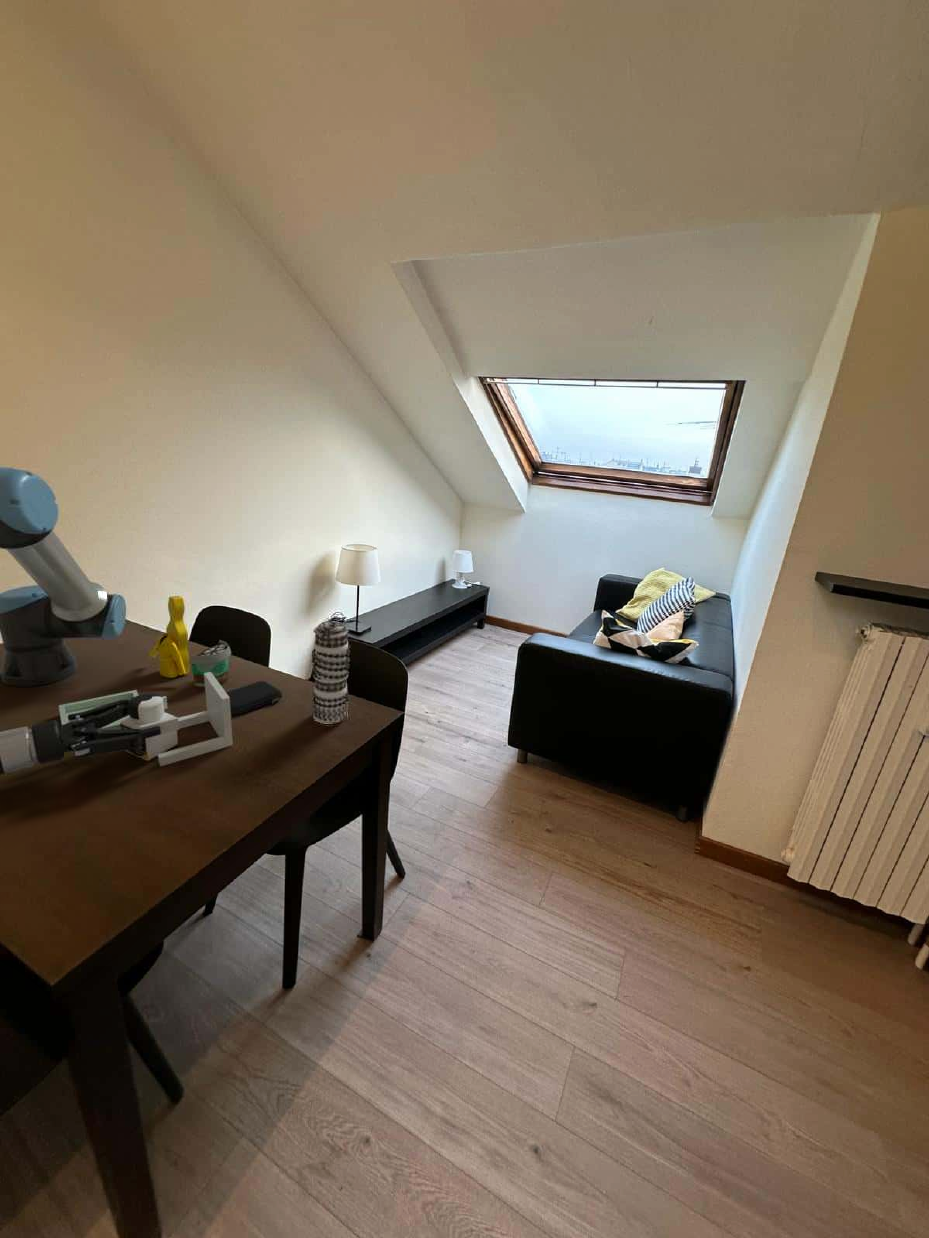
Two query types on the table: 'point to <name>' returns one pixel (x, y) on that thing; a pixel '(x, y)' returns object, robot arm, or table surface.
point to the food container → (211, 664)
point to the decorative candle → (330, 672)
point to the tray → (95, 703)
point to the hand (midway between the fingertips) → (172, 712)
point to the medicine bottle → (146, 712)
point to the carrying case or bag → (252, 697)
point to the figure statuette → (173, 642)
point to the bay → (215, 714)
